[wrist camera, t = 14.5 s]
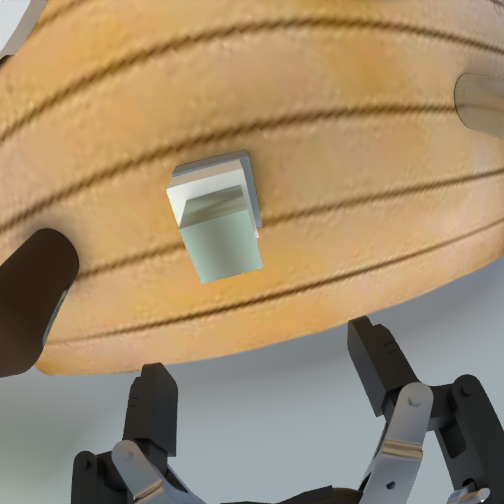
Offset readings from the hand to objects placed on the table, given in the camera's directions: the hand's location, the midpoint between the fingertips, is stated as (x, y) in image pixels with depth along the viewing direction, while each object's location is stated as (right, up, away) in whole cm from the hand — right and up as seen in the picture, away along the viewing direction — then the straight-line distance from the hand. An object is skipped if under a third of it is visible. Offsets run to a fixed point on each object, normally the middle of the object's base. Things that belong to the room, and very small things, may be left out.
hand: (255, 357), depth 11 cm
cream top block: (-4, +10, +18) cm, 21 cm away
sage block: (-3, +8, +15) cm, 17 cm away
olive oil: (-29, +4, +22) cm, 37 cm away
